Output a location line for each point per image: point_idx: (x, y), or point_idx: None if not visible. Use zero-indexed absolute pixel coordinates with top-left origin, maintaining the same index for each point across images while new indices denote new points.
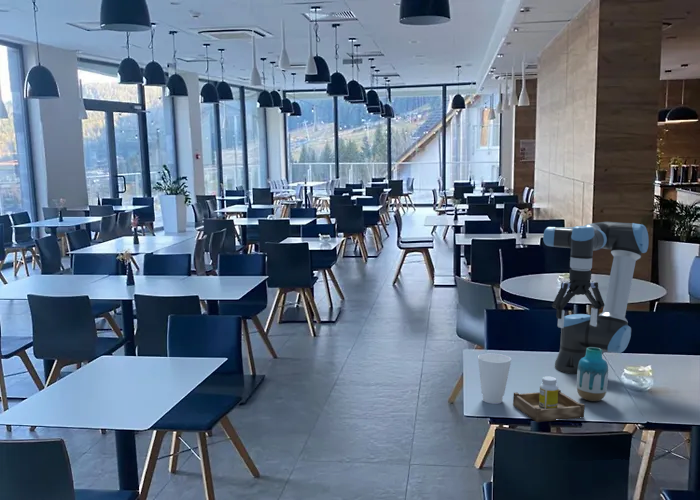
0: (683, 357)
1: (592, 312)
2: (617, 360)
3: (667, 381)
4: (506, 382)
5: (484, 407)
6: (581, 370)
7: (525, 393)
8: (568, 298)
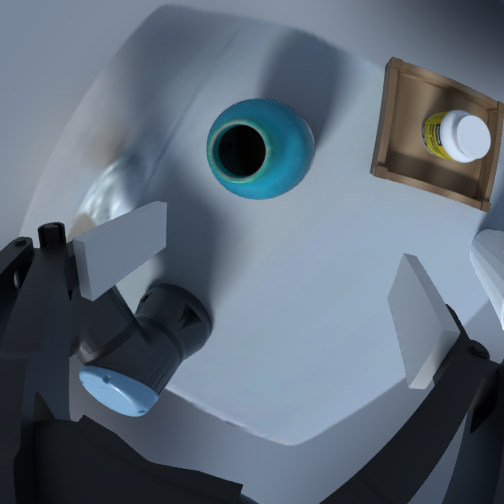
0: None
1: (113, 266)
2: None
3: (67, 189)
4: (496, 244)
5: None
6: (312, 150)
7: (462, 202)
8: (434, 448)
